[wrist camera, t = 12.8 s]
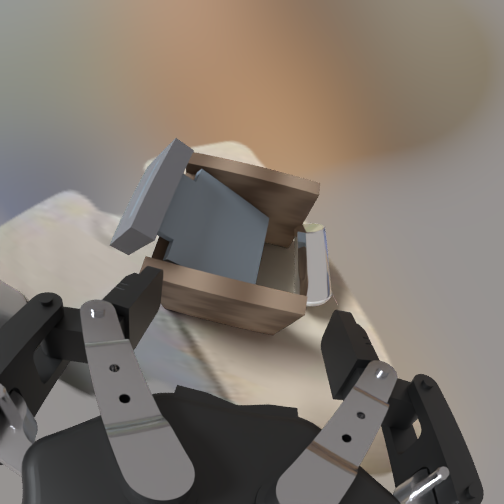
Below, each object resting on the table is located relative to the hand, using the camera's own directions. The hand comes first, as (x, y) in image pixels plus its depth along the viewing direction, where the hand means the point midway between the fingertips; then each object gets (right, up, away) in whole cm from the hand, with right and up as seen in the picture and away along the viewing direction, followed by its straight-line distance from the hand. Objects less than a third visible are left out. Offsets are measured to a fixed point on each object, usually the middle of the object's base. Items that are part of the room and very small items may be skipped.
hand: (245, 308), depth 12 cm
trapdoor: (-6, +4, +15) cm, 17 cm away
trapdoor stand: (-2, 0, +22) cm, 22 cm away
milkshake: (+7, +5, +17) cm, 19 cm away
